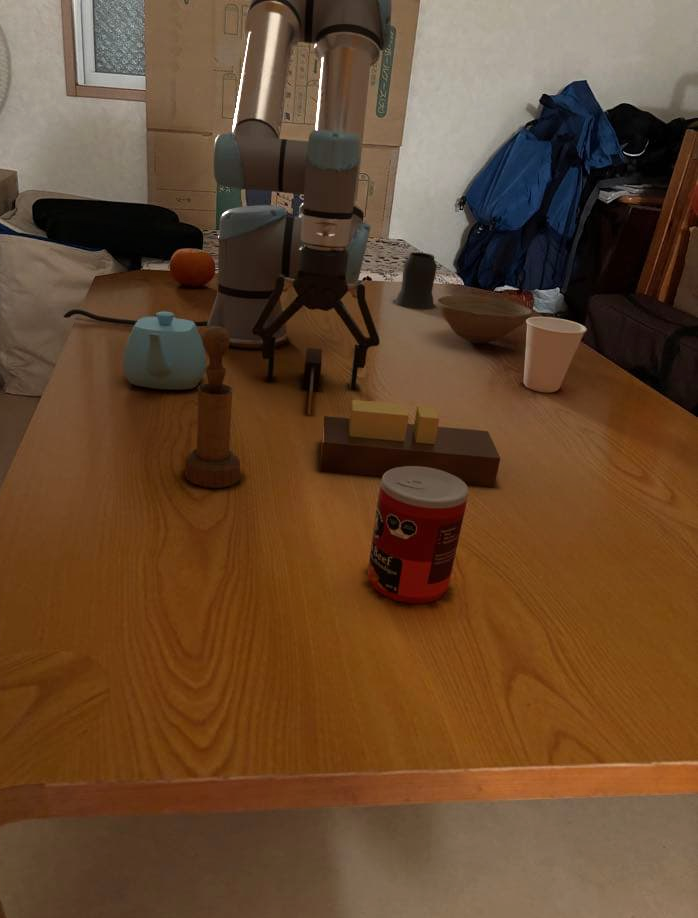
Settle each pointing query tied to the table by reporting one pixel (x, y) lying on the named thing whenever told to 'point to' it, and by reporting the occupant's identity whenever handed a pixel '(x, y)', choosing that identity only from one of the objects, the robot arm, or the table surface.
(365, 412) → the butter
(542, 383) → the cup
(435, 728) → the table surface
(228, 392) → the mortar and pestle
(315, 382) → the knife
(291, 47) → the robot arm
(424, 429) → the butter slice
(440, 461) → the board
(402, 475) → the canned food
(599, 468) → the table surface
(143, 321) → the teapot
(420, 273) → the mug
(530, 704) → the table surface
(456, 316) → the bowl
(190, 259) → the fruit
